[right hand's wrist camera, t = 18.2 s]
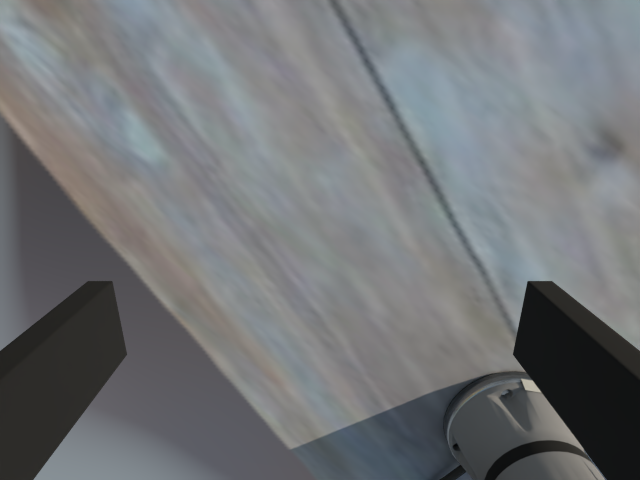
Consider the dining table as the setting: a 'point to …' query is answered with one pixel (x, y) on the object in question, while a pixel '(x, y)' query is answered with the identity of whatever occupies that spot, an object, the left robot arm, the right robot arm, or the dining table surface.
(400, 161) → the dining table surface
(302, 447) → the dining table surface
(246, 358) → the dining table surface
